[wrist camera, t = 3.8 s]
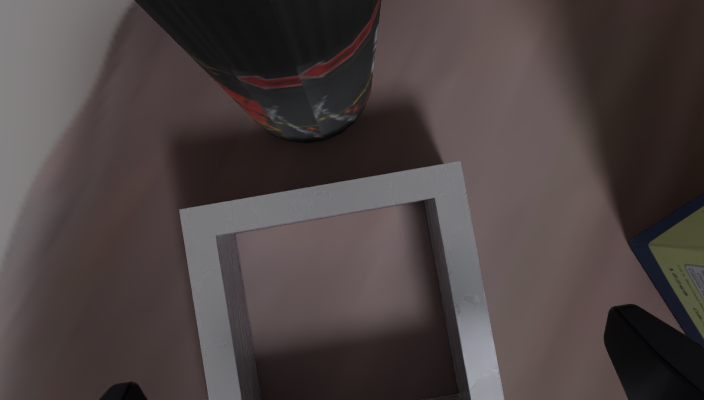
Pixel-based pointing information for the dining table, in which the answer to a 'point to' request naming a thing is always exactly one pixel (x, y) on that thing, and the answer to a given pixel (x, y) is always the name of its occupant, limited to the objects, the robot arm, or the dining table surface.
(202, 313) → the collar
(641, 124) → the dining table surface
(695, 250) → the protein box
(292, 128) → the deodorant
